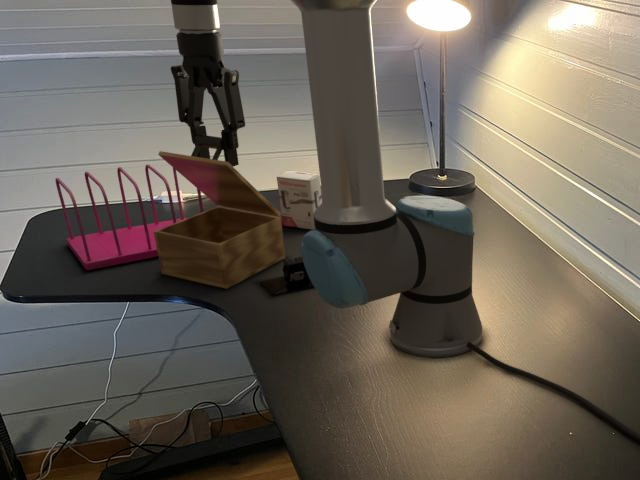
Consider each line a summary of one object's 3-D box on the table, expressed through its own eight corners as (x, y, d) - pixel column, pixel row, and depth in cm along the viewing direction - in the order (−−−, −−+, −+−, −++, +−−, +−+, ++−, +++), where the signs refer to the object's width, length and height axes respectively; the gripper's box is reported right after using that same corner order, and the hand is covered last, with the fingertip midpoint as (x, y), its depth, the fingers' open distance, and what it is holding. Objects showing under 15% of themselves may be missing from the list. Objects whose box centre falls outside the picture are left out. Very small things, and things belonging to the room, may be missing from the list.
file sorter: (214, 246, 156) (202, 173, 148) (86, 272, 142) (66, 193, 134) (187, 224, 167) (175, 155, 160) (67, 245, 154) (48, 172, 146)
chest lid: (226, 165, 130) (240, 133, 131) (157, 154, 135) (172, 124, 137) (279, 217, 146) (291, 188, 148) (217, 205, 152) (229, 178, 153)
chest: (226, 288, 137) (219, 245, 132) (161, 273, 142) (153, 231, 138) (285, 258, 151) (280, 217, 147) (224, 245, 157) (218, 205, 152)
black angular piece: (321, 271, 146) (319, 249, 143) (335, 283, 140) (334, 261, 138) (259, 283, 140) (257, 260, 137) (272, 296, 134) (270, 273, 132)
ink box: (281, 226, 168) (275, 175, 162) (292, 219, 172) (286, 169, 166) (315, 231, 166) (310, 179, 160) (325, 224, 170) (321, 173, 164)
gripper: (256, 33, 127) (271, 165, 138) (172, 26, 134) (193, 153, 145) (227, 36, 121) (245, 174, 132) (140, 29, 128) (165, 162, 139)
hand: (218, 163), depth 139 cm, fingers closed on chest lid, 6 cm apart
